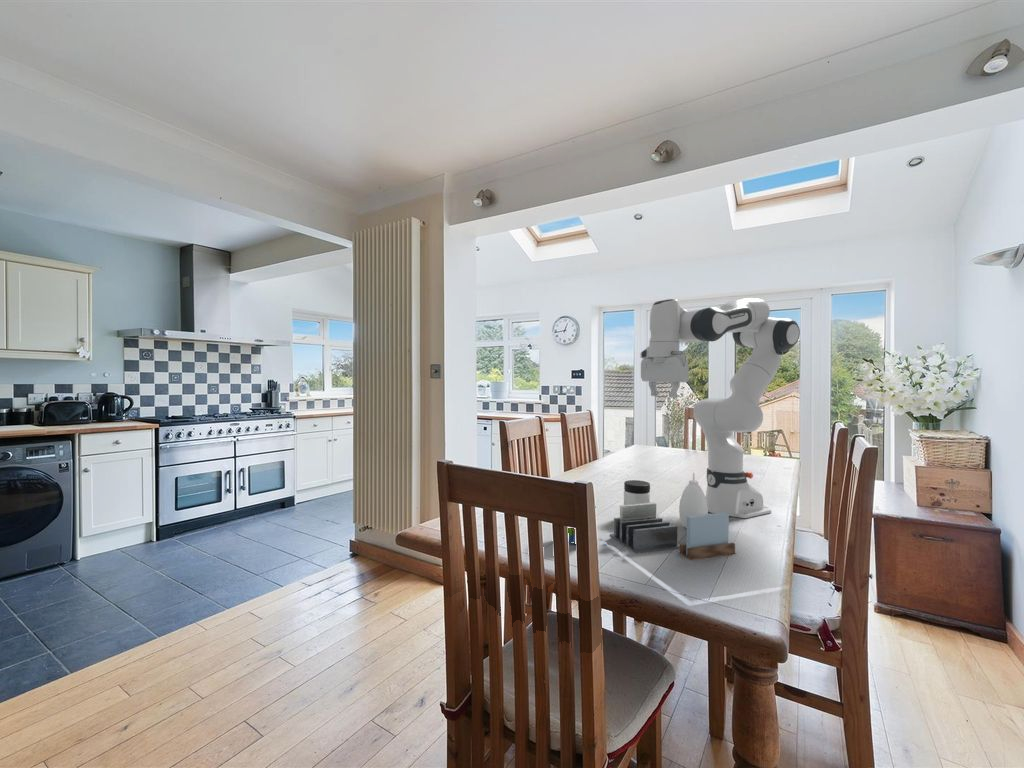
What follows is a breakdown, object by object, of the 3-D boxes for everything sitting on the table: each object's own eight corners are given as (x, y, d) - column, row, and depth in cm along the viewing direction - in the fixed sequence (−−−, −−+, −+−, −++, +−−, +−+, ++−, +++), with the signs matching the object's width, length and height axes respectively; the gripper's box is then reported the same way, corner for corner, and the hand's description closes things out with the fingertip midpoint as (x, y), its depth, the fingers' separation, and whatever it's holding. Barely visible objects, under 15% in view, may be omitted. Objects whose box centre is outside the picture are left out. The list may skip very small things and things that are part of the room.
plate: (724, 549, 123) (724, 512, 123) (728, 551, 122) (728, 513, 122) (686, 554, 120) (686, 516, 119) (689, 556, 118) (690, 517, 118)
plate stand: (722, 549, 125) (722, 538, 125) (736, 556, 120) (736, 544, 120) (678, 555, 121) (678, 543, 121) (691, 562, 116) (691, 550, 116)
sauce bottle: (712, 533, 138) (713, 473, 138) (695, 537, 134) (696, 476, 134) (690, 525, 145) (691, 468, 145) (673, 529, 141) (674, 471, 141)
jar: (655, 520, 150) (656, 483, 150) (640, 525, 145) (641, 487, 145) (632, 513, 157) (633, 478, 157) (617, 518, 152) (618, 482, 152)
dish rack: (651, 533, 138) (652, 499, 138) (682, 550, 124) (682, 513, 124) (609, 538, 134) (610, 503, 133) (636, 556, 120) (636, 517, 120)
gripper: (695, 350, 133) (694, 398, 133) (654, 353, 153) (653, 395, 153) (676, 350, 131) (675, 398, 132) (637, 353, 151) (636, 395, 151)
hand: (663, 396), depth 143 cm, fingers open, 8 cm apart
